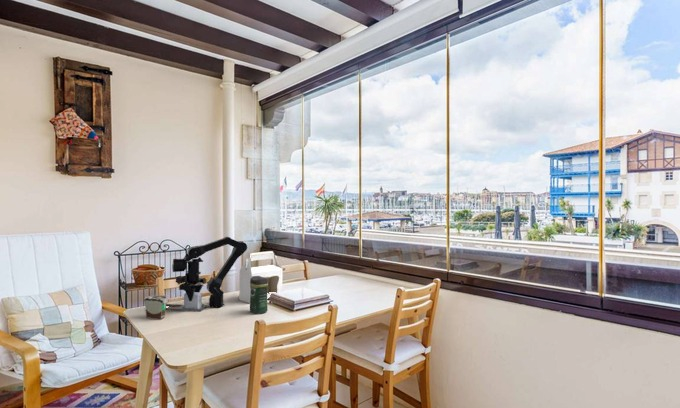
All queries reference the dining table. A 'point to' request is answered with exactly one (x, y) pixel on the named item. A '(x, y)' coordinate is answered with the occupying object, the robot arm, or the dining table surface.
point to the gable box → (260, 274)
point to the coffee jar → (258, 294)
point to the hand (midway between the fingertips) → (193, 299)
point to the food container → (155, 306)
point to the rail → (181, 308)
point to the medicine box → (193, 301)
